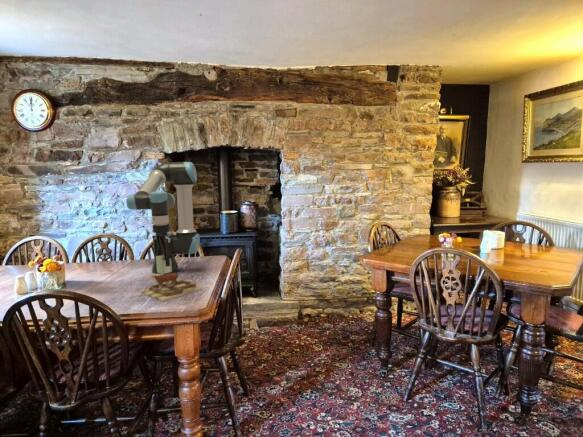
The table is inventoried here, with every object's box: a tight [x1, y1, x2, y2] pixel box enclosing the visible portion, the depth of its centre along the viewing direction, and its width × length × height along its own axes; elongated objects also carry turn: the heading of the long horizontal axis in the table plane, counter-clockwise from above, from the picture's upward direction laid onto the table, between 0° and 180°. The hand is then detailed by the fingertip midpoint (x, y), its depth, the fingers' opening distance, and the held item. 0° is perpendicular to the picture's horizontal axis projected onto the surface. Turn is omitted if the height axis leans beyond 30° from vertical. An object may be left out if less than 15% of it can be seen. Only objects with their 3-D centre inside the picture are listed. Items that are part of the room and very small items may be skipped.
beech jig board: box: [140, 279, 203, 302], centre depth 197 cm, size 20×22×2 cm
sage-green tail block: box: [156, 255, 172, 274], centre depth 189 cm, size 5×5×8 cm
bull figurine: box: [149, 272, 179, 290], centre depth 194 cm, size 4×13×8 cm, turn 112°
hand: (164, 271), depth 190 cm, fingers closed on sage-green tail block, 5 cm apart
